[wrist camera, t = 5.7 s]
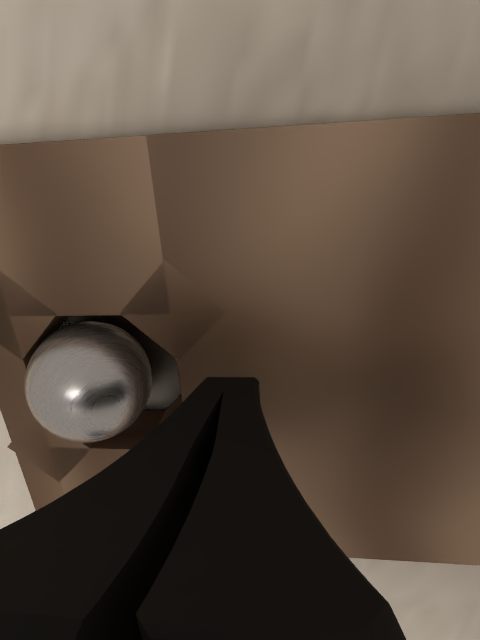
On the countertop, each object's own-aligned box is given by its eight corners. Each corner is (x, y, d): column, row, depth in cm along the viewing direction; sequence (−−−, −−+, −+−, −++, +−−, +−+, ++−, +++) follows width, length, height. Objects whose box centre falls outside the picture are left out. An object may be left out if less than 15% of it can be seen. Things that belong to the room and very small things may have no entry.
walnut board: (749, 96, 9) (861, 87, 7) (586, 519, 14) (629, 574, 13) (-38, 148, 12) (-98, 151, 10) (67, 495, 17) (40, 538, 15)
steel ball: (16, 371, 9) (5, 320, 12) (49, 489, 11) (32, 418, 13) (163, 333, 11) (123, 295, 14) (175, 439, 12) (137, 385, 15)
